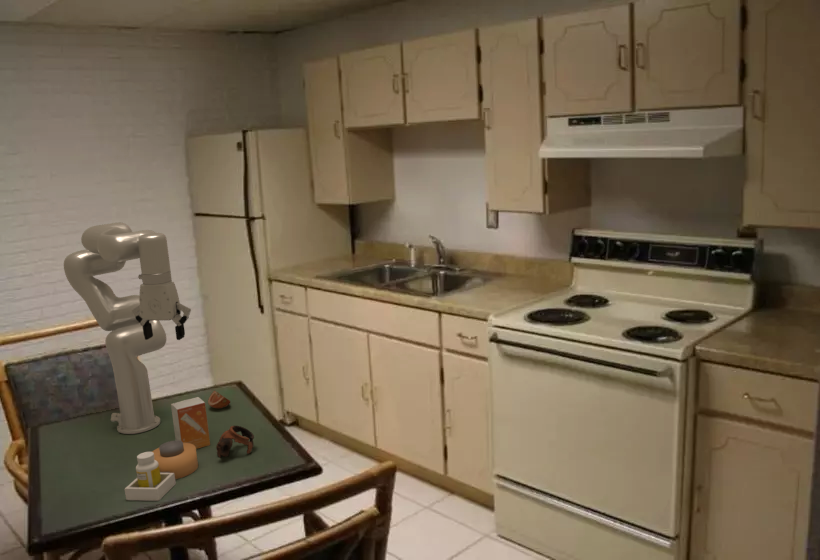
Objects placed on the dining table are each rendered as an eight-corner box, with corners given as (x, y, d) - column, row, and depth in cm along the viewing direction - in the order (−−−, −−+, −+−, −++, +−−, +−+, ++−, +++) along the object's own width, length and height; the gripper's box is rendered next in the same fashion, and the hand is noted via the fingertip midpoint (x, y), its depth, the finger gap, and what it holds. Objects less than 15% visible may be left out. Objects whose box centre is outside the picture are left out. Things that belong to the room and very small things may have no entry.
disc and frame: (119, 499, 179) (115, 473, 178) (165, 459, 201) (161, 435, 199) (165, 500, 177) (161, 473, 176) (205, 460, 199) (202, 435, 197)
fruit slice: (235, 408, 236) (233, 394, 235) (214, 414, 232) (212, 399, 231) (225, 402, 243) (223, 387, 242) (205, 407, 239) (203, 393, 238)
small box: (182, 453, 204) (176, 409, 201) (176, 446, 209) (169, 403, 207) (211, 445, 208) (205, 401, 206) (204, 438, 213) (198, 396, 211)
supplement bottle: (161, 484, 186) (156, 448, 184) (163, 493, 181) (157, 456, 179) (139, 489, 184) (133, 453, 182) (140, 499, 179) (134, 461, 177)
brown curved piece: (224, 446, 208) (237, 420, 207) (251, 463, 205) (263, 437, 205) (201, 454, 196) (214, 427, 196) (229, 472, 194) (242, 444, 193)
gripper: (120, 281, 199) (129, 342, 202) (179, 281, 195) (186, 342, 199) (136, 275, 206) (144, 334, 210) (192, 275, 202) (199, 334, 206)
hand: (164, 338), depth 204 cm, fingers open, 9 cm apart
